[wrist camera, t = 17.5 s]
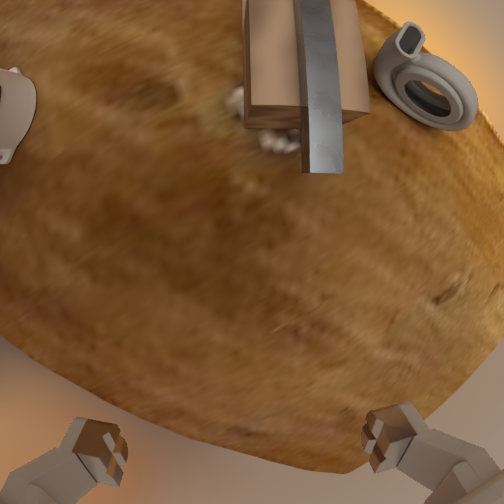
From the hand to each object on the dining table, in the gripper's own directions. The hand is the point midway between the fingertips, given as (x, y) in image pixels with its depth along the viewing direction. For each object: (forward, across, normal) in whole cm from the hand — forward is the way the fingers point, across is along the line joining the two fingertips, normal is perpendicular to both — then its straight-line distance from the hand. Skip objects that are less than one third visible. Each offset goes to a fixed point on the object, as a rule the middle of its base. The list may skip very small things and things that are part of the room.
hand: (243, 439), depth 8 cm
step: (+35, +8, +22) cm, 42 cm away
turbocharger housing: (+35, +27, +22) cm, 50 cm away
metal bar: (+21, +8, +18) cm, 29 cm away
